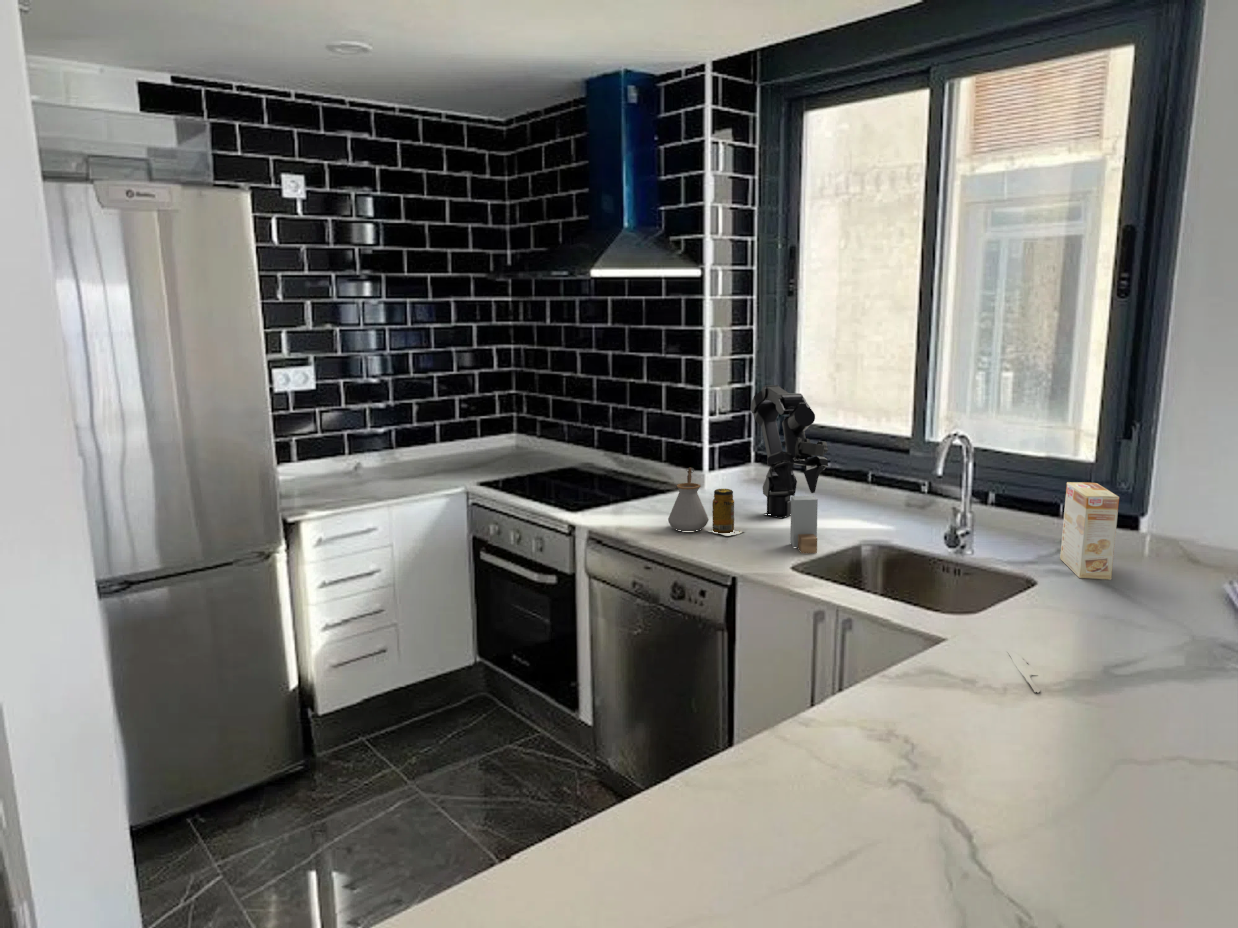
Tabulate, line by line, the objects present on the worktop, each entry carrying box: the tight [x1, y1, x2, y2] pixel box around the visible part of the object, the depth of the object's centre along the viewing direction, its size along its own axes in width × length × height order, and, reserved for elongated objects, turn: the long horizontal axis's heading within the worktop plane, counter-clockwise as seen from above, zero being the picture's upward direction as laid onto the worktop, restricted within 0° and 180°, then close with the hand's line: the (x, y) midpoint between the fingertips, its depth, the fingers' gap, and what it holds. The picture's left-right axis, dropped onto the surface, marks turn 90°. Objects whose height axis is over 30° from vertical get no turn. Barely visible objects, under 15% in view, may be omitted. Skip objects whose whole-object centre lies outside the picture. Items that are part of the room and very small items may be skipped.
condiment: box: [711, 488, 735, 533], centre depth 236 cm, size 7×8×12 cm
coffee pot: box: [667, 466, 710, 531], centre depth 245 cm, size 21×12×15 cm, turn 173°
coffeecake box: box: [1059, 481, 1120, 581], centre depth 198 cm, size 15×7×20 cm, turn 168°
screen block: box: [789, 495, 819, 548], centre depth 222 cm, size 4×6×13 cm, turn 91°
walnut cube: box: [797, 534, 818, 554], centre depth 219 cm, size 4×4×4 cm
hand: (801, 491), depth 232 cm, fingers open, 9 cm apart
